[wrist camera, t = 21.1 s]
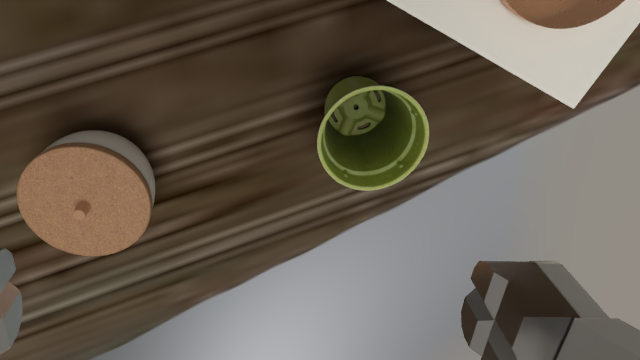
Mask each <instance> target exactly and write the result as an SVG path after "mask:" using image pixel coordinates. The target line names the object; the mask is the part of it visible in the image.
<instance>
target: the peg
mask: <svg viewBox="0 0 640 360" xmlns="http://www.w3.org/2000/svg"><path fill="white" fill-rule="evenodd" d="M624 1H625V0H500V2H501V3H502V4H503V5H504V6H505V7H506V8H507V9H508V10H509V11H510V12H512V13H513V14H514V15H516V16H517V17H519V18H521V19H523V20H526V21H528V22H531V23H534V24H536V25H539V26H543V27H546V28H553V29H567V28H575V27H579V26H582V25H586V24H588V23H591V22H593V21H596V20H598V19H599V18H601V17H603V16H605V15H607V14H608V13H610V12H611V11H612V10H614V9H615V8H617V7H618V6H619V5H620V4H621V3H623V2H624Z"/></svg>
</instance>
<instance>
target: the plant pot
mask: <svg viewBox="0 0 640 360" xmlns="http://www.w3.org/2000/svg"><path fill="white" fill-rule="evenodd" d="M374 90H376V91H377V92H378V93H379V95H380V98H381V100H380V102H378V100H377V97H376V95H375V93H374ZM354 105H358V109H357V110H355V109H354ZM333 112H334V115H335V117H336V119H337V120H338V122H334V119H333V118H332V117H331V114H332V113H333ZM369 122H370V125H369V126H368V127H367V128H364V129H360V130H359V129H358V127H360V126H363V125H365V124H367V123H369ZM428 140H429V125H428V121H427V118H426V115H425V113H424V111H423V109H422V107H421V106H420V105H419V104H418V102H417V101H416V100H415V99H414V98H412V97H411V96H410V95H409V94H407V93H405V92H404V91H402V90H399V89H397V88H394V87H390V86H385V85H380V84H378V83H377V82H375V81H374V80H372V79H370V78H366V77H362V76H353V77H348V78H345V79H343V80H341V81H340V82H338V83H337V84H336V85H335V86H334V87H333V88H332V89H331V90H330V92H329V94H328V96H327V98H326V101H325V112H324V118H323V120H322V122H321V125H320V127H319V131H318V137H317V149H318V155H319V158H320V161H321V163H322V165H323V167H324V169H325V170H326V171H327V173H328V174H329V175H330V176H331V177H332V178H333V179H334V180H336V181H337V182H338V183H340V184H342V185H344V186H346V187H349V188H352V189H356V190H364V191H368V190H378V189H382V188H386V187H388V186H391V185H393V184H395V183H397V182H399V181H401V180H402V179H404V178H405V177H406V176H407V175H409V174H410V173H411V172H412V171H413V170H414V169H415V167H416V166H417V165H418V164H419V162H420V161H421V159H422V157H423V156H424V154H425V151H426V148H427V145H428Z"/></svg>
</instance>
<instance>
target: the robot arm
mask: <svg viewBox="0 0 640 360" xmlns="http://www.w3.org/2000/svg"><path fill="white" fill-rule="evenodd" d="M15 270H16V268H15V264H14V260H13V256H12V253H11V252H9V251H8V250H7V249H3V248H0V355H1V354H2V353H4V352H5V351H7V350H8V349H10V347H11V346H12V344H13V342H14V340H15V338H16V336H17V334H18V331H19V327H20V323H21V319H22V299H21V293H20V291H19V290H18V289H17V288H16V287H15V286H14V285H12V284H11V283H10V282H9V279H10V278H11V276H12V275H13V273H14V272H15ZM471 280H472V282H473V284H474V286H475V289H474V290H473V291H472V292H470V293H469V294H468V295H467V296H466V297H465V299H464V303H463V307H462V311H461V320H462V321H461V322H462V329H463V333H464V337H465V339H466V341H467V343H468V346H469V347H470V348H471V349H472V350H474V351H475V352H476V353H478V354H479V355H480V356H482V358H481V360H640V330H638V329H636V328H634V327H632V326H631V325H629V324H627V323H625V322H623V321H621V320H620V319H611V318H609V317H608V316H607V314H606V313H605V312H604V311H603V310H602V309H601V308H600V307H599V306H598V304H597V303H596V302H595V301H594V300H593V299H592V298H591V296H590V295H589V294H588V293H587V292H586V291H585V290H584V289H583V287H582V286H581V285H580V284H579V283H578V282H577V281H576V280H575V278H574V277H573V276H572V275H571V274H570V273H569V272H568V271H567V270H566V268H565V267H564V266H563V265H562V264H560V263H558V262H556V261H529V262H510V261H479V262H478V263H477V265H476V266H475V267H474V270H473V273H472V276H471Z"/></svg>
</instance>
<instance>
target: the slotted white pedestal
mask: <svg viewBox="0 0 640 360" xmlns="http://www.w3.org/2000/svg"><path fill="white" fill-rule="evenodd" d="M387 1H388V2H390V3H392V4H394V5H395V6H397V7H399V8H400V9H402V10H404V11H406V12H407V13H409V14H411V15H413V16H414V17H416V18H418V19H419V20H421V21H423V22H425V23H426V24H428V25H430V26H432V27H433V28H435V29H437V30H438V31H440V32H442V33H444V34H445V35H447V36H449V37H450V38H452V39H454V40H456V41H457V42H459V43H461V44H463V45H464V46H466V47H468V48H469V49H471V50H473V51H475V52H476V53H478V54H480V55H482V56H483V57H485V58H487V59H488V60H490V61H492V62H494V63H495V64H497V65H499V66H500V67H502V68H504V69H506V70H507V71H509V72H511V73H513V74H514V75H516V76H518V77H519V78H521V79H523V80H525V81H526V82H528V83H530V84H532V85H533V86H535V87H537V88H538V89H540V90H542V91H544V92H545V93H547V94H549V95H551V96H552V97H554V98H556V99H557V100H559V101H561V102H563V103H564V104H566V105H568V106H569V107H571V108H573V109H574V108H575V107H576V105H577V104H578V103H579V101H580V100H581V99H582V97H583V96H584V95H585V94H586V92H587V91H588V90H589V88H590V87H591V86H592V84H593V83H594V82H595V80H596V79H597V78H598V76H599V75H600V74H601V73H602V71H603V70H604V69H605V67H606V66H607V65H608V63H609V62H610V61H611V59H612V58H613V57H614V55H615V54H616V53H617V52H618V50H619V49H620V48H621V46H622V45H623V44H624V42H625V41H626V40H627V38H628V37H629V36H630V34H631V33H632V32H633V31H634V29H635V28H636V27H637V25H638V24H639V23H640V0H625V1H624V2H623V3H621V4H620V5H619V6H618V7H617V8H615V9H614V10H612V11H611V12H610V13H608V14H607V15H605V16H603V17H601V18H599V19H598V20H596V21H593V22H591V23H588V24H586V25H582V26H579V27H575V28H567V29H553V28H546V27H543V26H539V25H536V24H534V23H531V22H528V21H526V20H523V19H521V18H519V17H517V16H516V15H514V14H513V13H512V12H510V11H509V10H508V9H507V8H506V7H505V6H504V5H503V4H502V3H501V2H500V0H387Z"/></svg>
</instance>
